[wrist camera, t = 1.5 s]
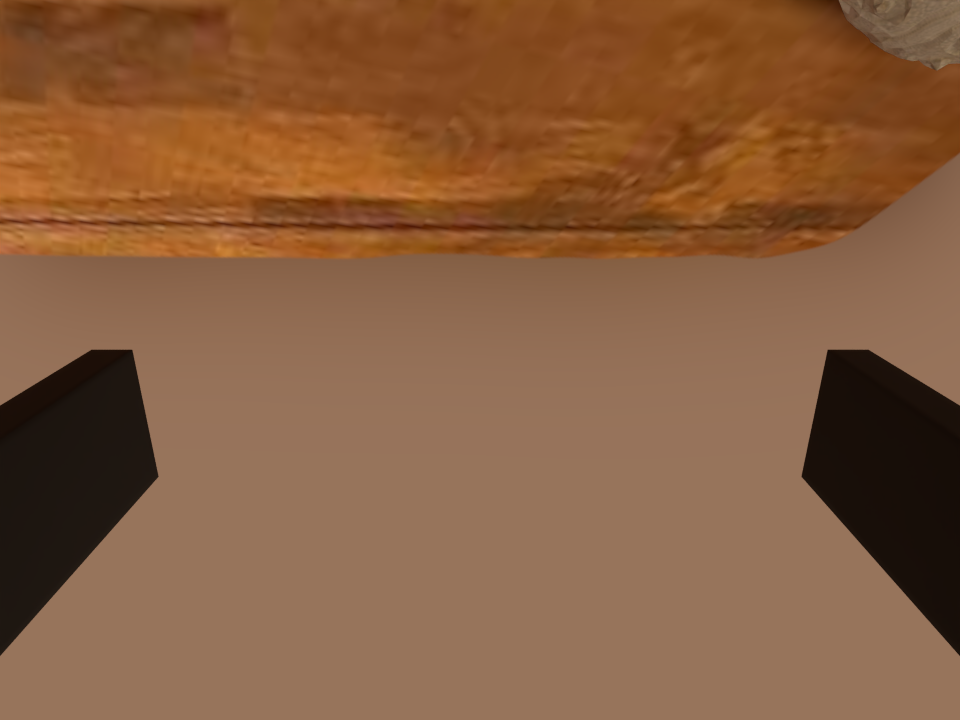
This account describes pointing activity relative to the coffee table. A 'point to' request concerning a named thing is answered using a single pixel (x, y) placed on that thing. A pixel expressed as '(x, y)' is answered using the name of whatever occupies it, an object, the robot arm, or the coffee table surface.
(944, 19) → the decorative shell
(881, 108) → the coffee table surface
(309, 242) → the coffee table surface
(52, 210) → the coffee table surface
